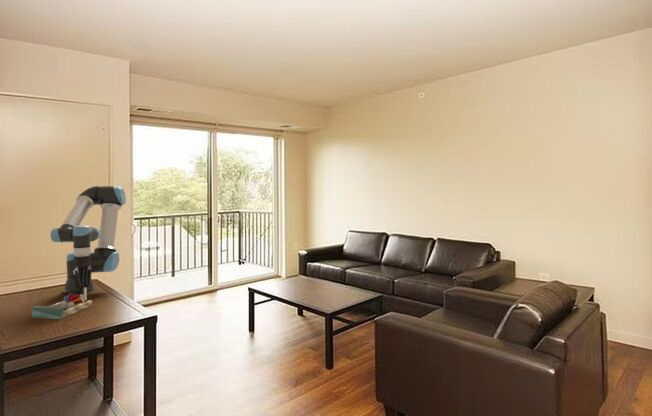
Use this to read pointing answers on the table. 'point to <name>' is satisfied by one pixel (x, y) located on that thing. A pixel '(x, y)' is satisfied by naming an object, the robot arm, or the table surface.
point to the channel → (57, 310)
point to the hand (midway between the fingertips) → (83, 299)
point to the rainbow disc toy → (71, 301)
